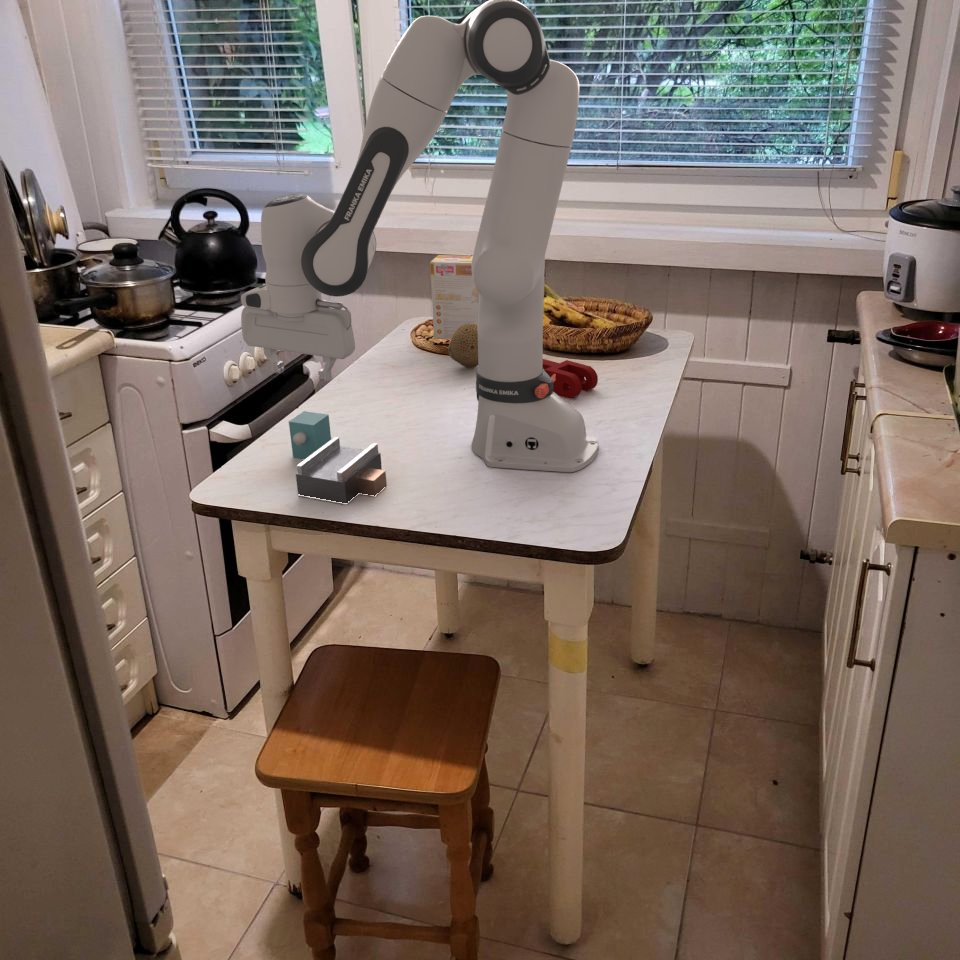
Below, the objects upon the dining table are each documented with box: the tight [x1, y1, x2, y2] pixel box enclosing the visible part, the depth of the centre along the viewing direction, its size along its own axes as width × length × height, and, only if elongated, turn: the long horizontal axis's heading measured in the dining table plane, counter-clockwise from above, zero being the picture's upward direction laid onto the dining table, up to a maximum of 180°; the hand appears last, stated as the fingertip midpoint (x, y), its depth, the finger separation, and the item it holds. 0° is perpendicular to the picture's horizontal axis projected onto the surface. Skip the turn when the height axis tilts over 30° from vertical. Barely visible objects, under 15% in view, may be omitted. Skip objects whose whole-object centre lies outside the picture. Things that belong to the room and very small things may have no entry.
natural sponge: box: [447, 323, 478, 369], centre depth 209 cm, size 9×9×10 cm
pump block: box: [288, 410, 332, 460], centre depth 171 cm, size 5×6×7 cm
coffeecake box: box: [429, 254, 479, 340], centre depth 223 cm, size 15×7×20 cm, turn 77°
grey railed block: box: [295, 436, 388, 504], centre depth 160 cm, size 12×12×6 cm
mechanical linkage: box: [543, 358, 599, 400], centre depth 199 cm, size 16×7×5 cm, turn 47°
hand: (301, 375), depth 166 cm, fingers open, 8 cm apart
